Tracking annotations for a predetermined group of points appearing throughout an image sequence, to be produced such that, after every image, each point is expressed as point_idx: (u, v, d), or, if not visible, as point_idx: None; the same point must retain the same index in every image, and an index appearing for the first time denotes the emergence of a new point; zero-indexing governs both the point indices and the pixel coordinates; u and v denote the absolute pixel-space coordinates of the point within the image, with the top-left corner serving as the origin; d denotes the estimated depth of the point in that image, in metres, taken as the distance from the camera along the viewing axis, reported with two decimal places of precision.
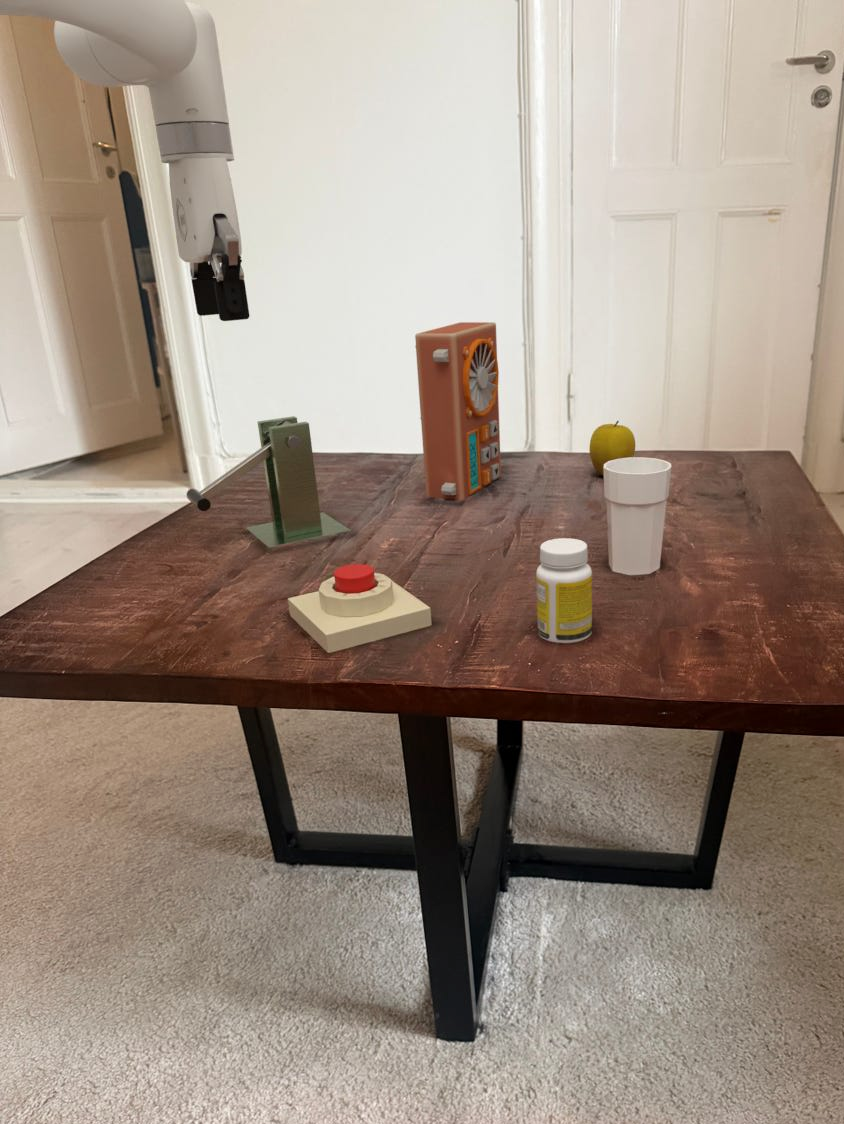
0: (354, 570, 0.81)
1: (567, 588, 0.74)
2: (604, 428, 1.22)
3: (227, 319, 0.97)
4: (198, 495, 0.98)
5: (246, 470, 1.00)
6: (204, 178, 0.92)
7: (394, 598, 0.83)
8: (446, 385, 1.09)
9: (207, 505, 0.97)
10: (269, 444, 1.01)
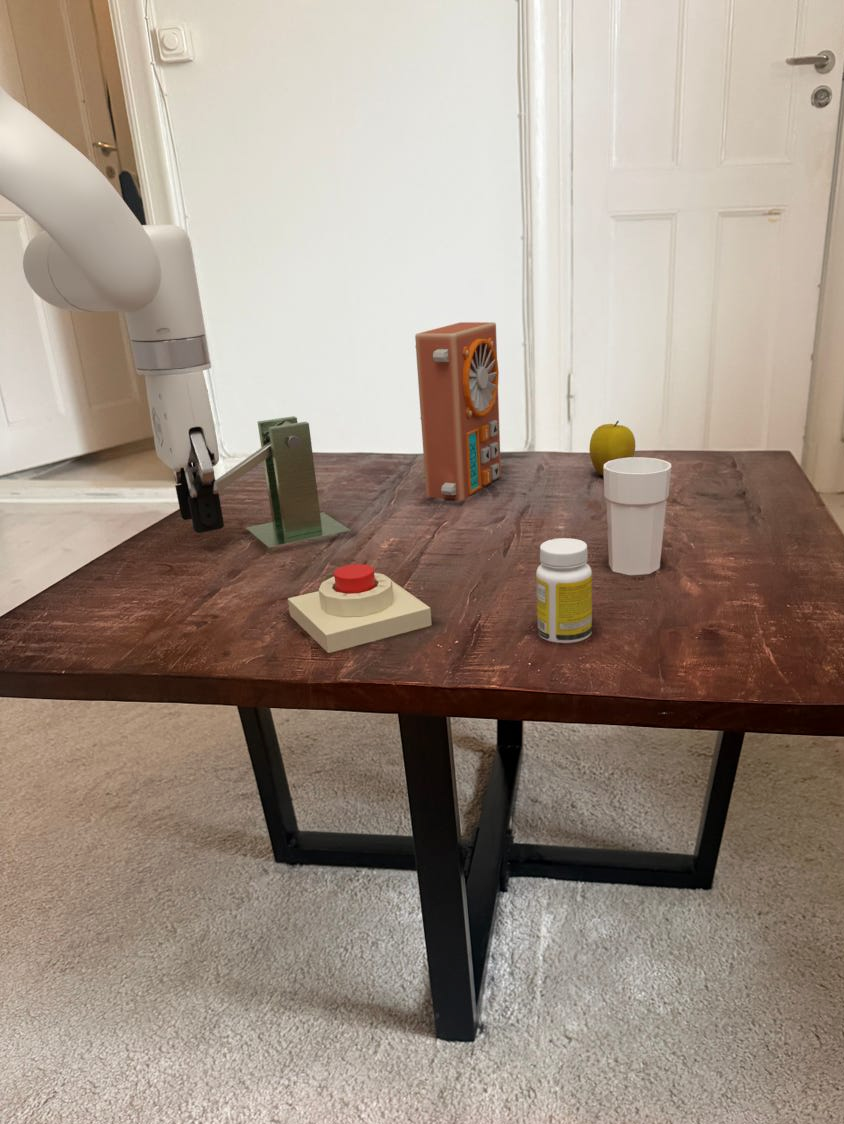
0: (354, 570, 0.81)
1: (567, 588, 0.74)
2: (604, 428, 1.22)
3: (201, 531, 0.97)
4: None
5: (246, 470, 1.00)
6: (179, 395, 0.90)
7: (394, 598, 0.83)
8: (446, 385, 1.09)
9: None
10: (269, 444, 1.01)
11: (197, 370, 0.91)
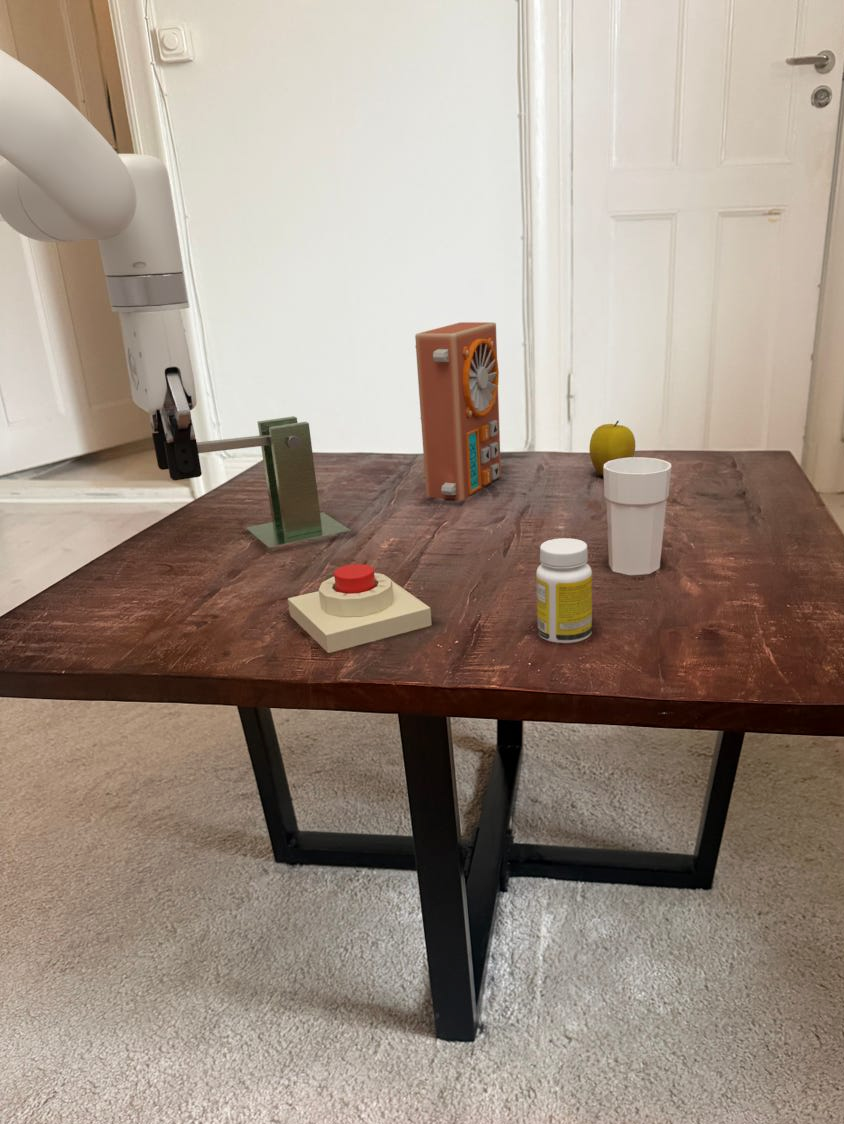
0: (354, 570, 0.81)
1: (567, 588, 0.74)
2: (604, 428, 1.22)
3: (178, 478, 0.94)
4: None
5: (236, 447, 0.99)
6: (155, 332, 0.87)
7: (394, 598, 0.83)
8: (446, 385, 1.09)
9: None
10: (268, 435, 1.00)
11: (174, 308, 0.88)
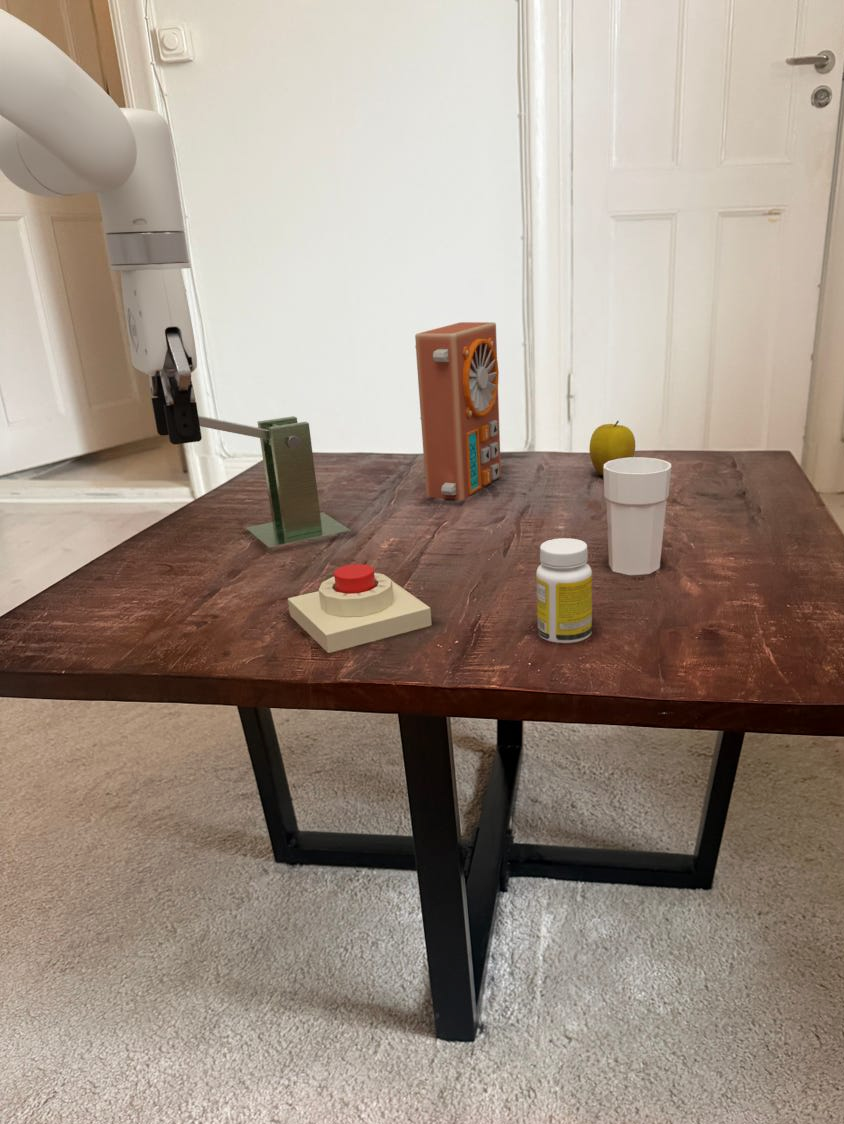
0: (354, 570, 0.81)
1: (567, 588, 0.74)
2: (604, 428, 1.22)
3: (178, 442, 0.93)
4: None
5: (235, 431, 0.98)
6: (156, 291, 0.86)
7: (394, 598, 0.83)
8: (446, 385, 1.09)
9: None
10: None
11: (175, 267, 0.87)
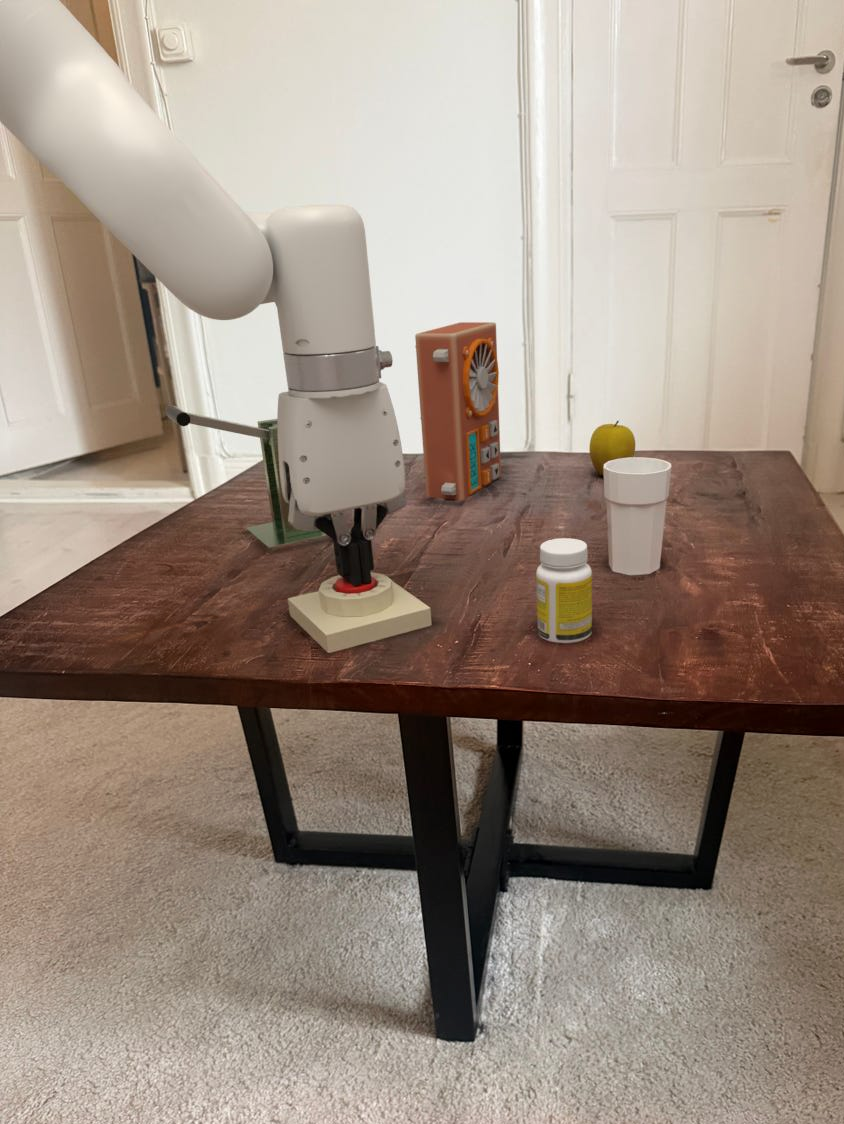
0: None
1: (567, 588, 0.74)
2: (604, 428, 1.22)
3: (344, 578, 0.81)
4: None
5: (236, 430, 0.98)
6: (278, 419, 0.73)
7: (394, 598, 0.83)
8: (446, 385, 1.09)
9: (185, 422, 0.93)
10: None
11: (301, 396, 0.71)
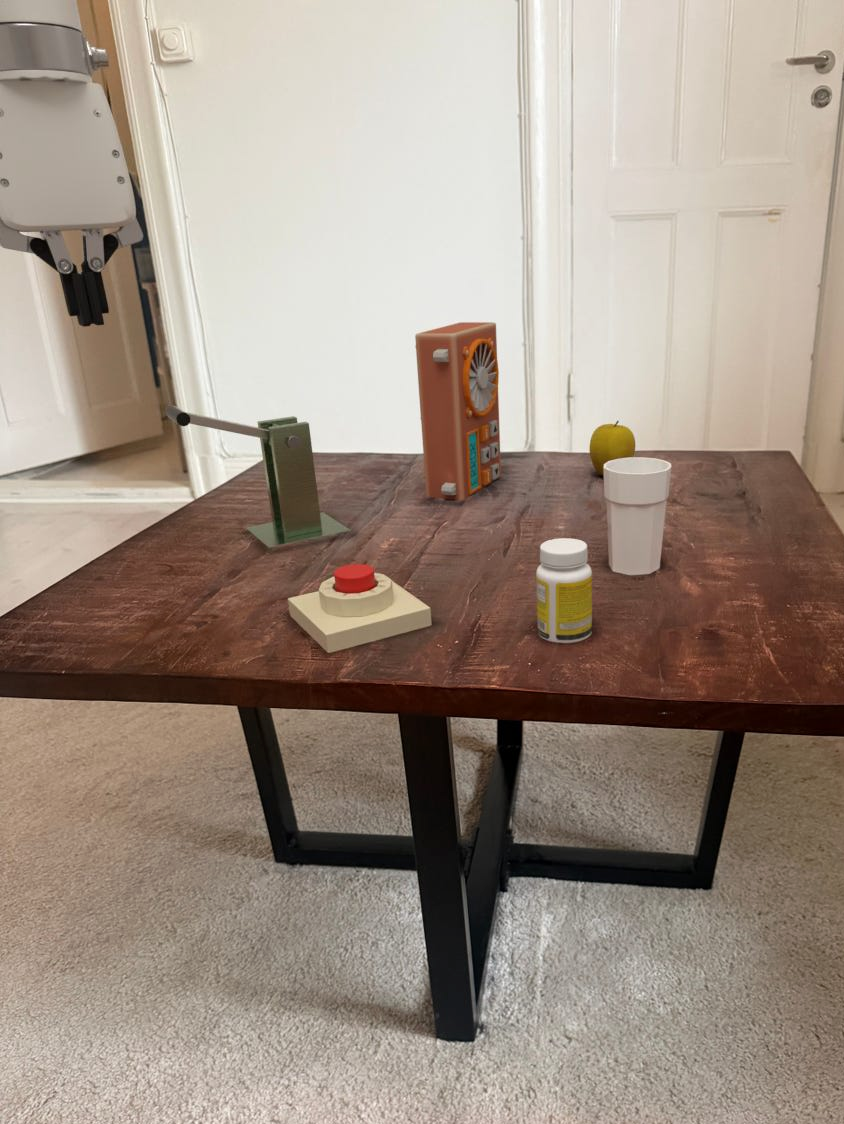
0: (354, 570, 0.81)
1: (567, 588, 0.74)
2: (604, 428, 1.22)
3: (79, 323, 0.74)
4: None
5: (236, 430, 0.98)
6: None
7: (394, 598, 0.83)
8: (446, 385, 1.09)
9: (185, 422, 0.93)
10: None
11: None
